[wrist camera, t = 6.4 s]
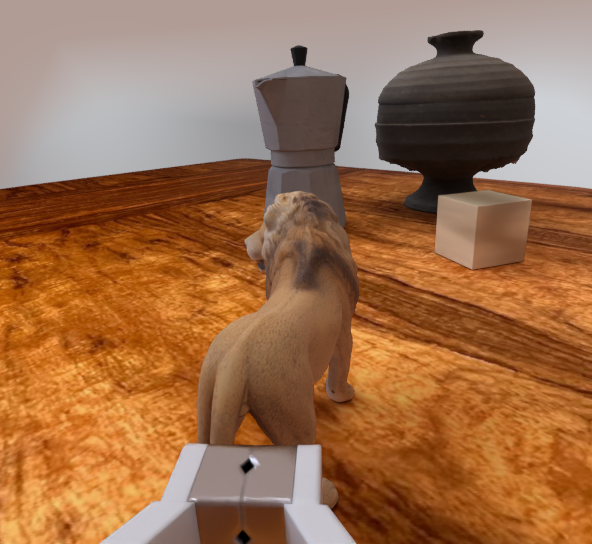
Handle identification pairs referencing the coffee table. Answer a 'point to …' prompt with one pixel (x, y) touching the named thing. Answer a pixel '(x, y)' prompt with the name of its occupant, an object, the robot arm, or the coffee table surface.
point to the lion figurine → (285, 331)
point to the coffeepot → (303, 130)
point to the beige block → (482, 228)
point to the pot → (454, 118)
